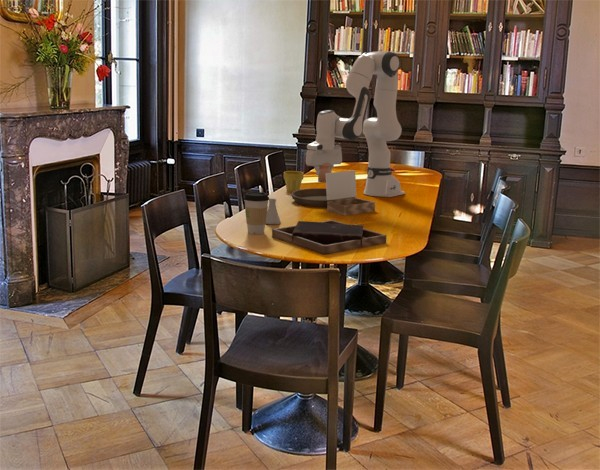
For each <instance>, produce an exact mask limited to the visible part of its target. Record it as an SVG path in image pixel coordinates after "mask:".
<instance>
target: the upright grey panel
mask: <svg viewBox="0 0 600 470" xmlns="http://www.w3.org/2000/svg"><path fill="white" fill-rule="evenodd" d="M325 175H326V183H325V188H326V192H327V200H333V199H341V198H349V197H355V198H358V197H357V182H356V181H357V179H356V178H357V177H356V176H357V175H356V170H347V171H345V170H344V171H335V172H331V173H325Z"/></svg>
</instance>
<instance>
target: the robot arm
mask: <svg viewBox="0 0 600 470" xmlns="http://www.w3.org/2000/svg"><path fill="white" fill-rule="evenodd" d="M400 64H401V62H400V58H399V55H398V54H397V53H395V52H393V51H383V50H378V51H367V52H366V51H365V52H363V53H362V54H361V55H359V56H358V57H357V58H356V59H355V61H354V63H353V65H352V66H351V69H350V70H349V72H348V75H347V77H346V79H345V88H346V90H347V92H348V93H349V94H350V95H351V96H353V97H354V98H355V103H354V104H355V105H354V108H353V112H352V114H351V117H349V118H347V117H341V116H339V115H338V114H336V112H335V111H334V110H332V109H325V110H322V111H319V112H318V114H317V118H316V127H315V128H316V136H315V141H312V142H311V143H308V144H307V145H306V149H307V150H306V153H305V164H306V166H307V167H313V168H314V170H315V175H316V176H318V175H321V171H319V166H321V165H323V164H327V163H330V167H329V173H332V170H333V169H334V165H335V166H336V165H341V164H342V163H343V153H342V147H341V145H340V144H335V143H336V142H335V138H338V139H342V140H343V139H344V140H347V141H351V142H352V141H353V142H355V141H357V140H358V139H360V137H361V136H362V134H363V135H364V136H365V139H366V143H367V147H368V149H367V150H368V162H367V163H368V165H367V168H366V173H367V176H366V181H365V188H364V189H363V194H364V195H366V196H372V197H385V198H391V197H393V198H394V197H396V196H400V195H405V193H406V192H405V191H404V190H402V189H401V185H402V184H401V182H400V181H399V180H398V178H396V177H395V176H394V175H393V173H396V168H395V167H391V157H392V156H391V154H392V153H391V151H390V149H389V148H388V145H387V142H391V141H396V140H398V139H399V138H400V137H401V135H402V131H403V128H402V125H401V123H400V122H399V119H398V115H397V110H396V109H397V106H396V105H397V97H398V96H397V95H398V87H399V77H398V76H399V75H398V70H399V69H400ZM374 75H376V77H377V79H376V84H375V88H374V89H375V90H374V97H373V107H374V108H375V110H376V116H377V117H376V116H373V117H369V118H366V114H367V110H368V106H369V103H370V98H371V93H370V90H369V88H370V84H371V82H372V79H373V76H374ZM365 118H366V119H365Z"/></svg>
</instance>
